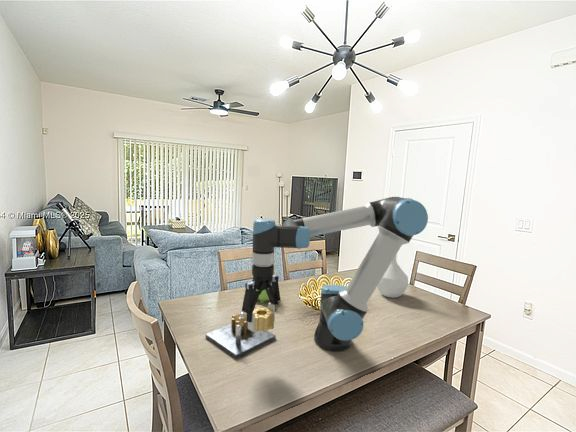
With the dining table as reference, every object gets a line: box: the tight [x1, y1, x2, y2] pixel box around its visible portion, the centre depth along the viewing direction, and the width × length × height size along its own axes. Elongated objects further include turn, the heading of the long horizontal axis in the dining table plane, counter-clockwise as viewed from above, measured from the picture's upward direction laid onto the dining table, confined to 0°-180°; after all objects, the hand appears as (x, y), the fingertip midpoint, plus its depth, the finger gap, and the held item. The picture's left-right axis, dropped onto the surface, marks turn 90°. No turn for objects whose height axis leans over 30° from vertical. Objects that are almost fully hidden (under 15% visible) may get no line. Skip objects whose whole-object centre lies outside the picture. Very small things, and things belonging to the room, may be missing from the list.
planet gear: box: [253, 306, 275, 332], centre depth 108 cm, size 9×9×5 cm
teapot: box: [256, 284, 272, 304], centre depth 163 cm, size 20×13×13 cm
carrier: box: [205, 311, 277, 360], centre depth 123 cm, size 20×20×8 cm
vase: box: [376, 255, 409, 299], centre depth 176 cm, size 18×18×30 cm
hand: (261, 325), depth 108 cm, fingers closed on planet gear, 9 cm apart
